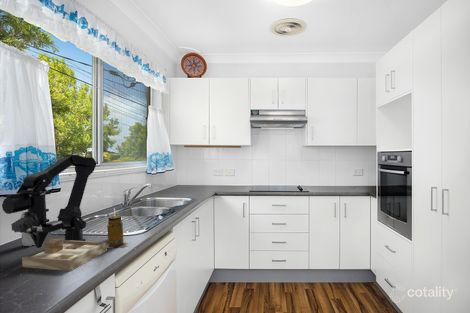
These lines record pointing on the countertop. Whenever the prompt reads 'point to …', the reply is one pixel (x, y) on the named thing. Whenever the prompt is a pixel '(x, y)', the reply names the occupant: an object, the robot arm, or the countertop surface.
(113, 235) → the condiment
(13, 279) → the countertop surface
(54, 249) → the walnut block
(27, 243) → the energy drink can
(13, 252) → the countertop surface
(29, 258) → the box
